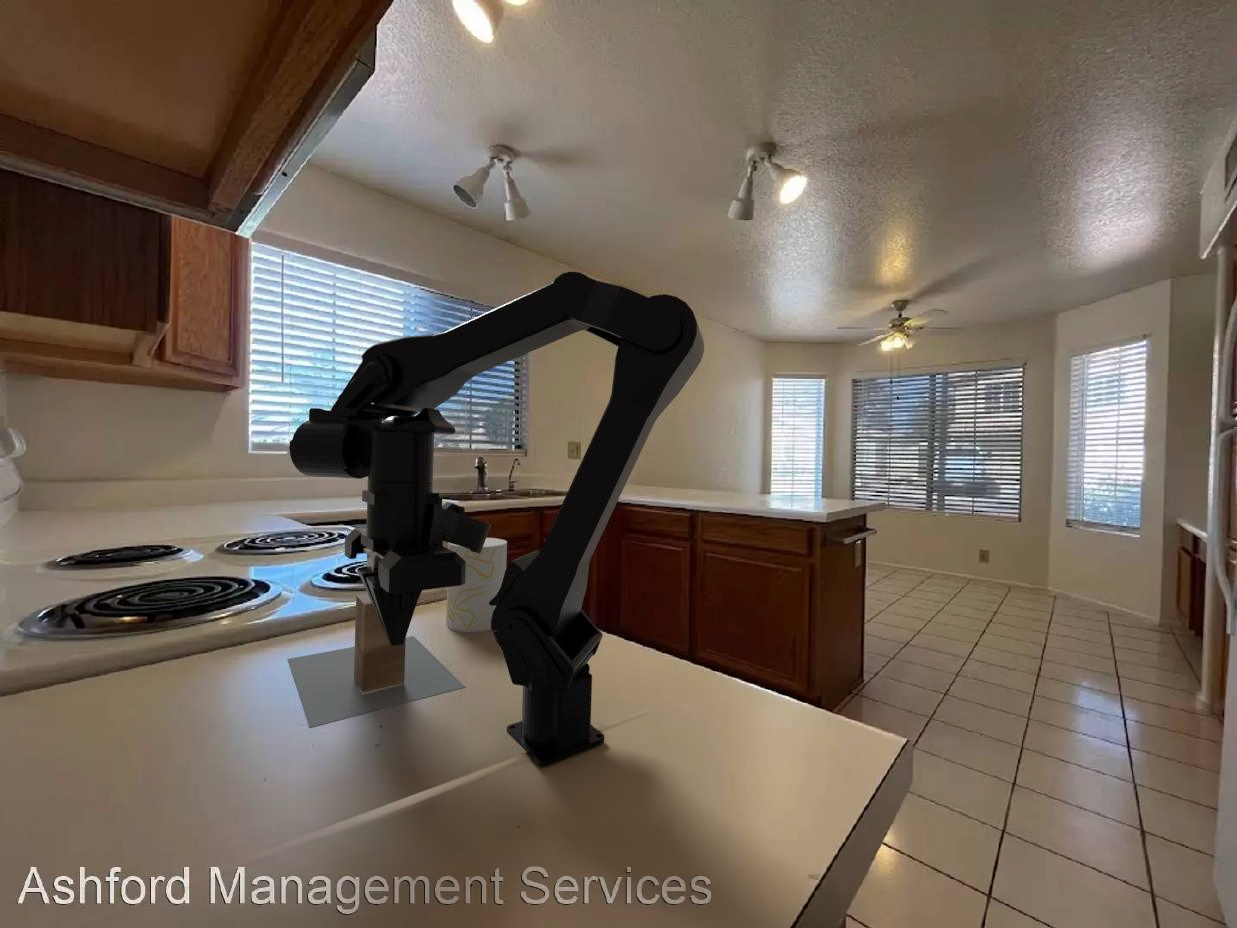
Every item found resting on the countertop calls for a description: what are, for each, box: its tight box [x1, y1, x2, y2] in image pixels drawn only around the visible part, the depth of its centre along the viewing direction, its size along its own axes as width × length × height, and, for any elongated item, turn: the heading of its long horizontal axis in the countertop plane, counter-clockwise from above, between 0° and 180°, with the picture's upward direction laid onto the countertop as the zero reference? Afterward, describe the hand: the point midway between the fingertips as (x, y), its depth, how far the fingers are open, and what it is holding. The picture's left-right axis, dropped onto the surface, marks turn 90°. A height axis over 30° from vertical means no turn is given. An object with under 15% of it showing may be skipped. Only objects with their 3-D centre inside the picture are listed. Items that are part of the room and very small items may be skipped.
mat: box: [287, 635, 466, 729], centre depth 56 cm, size 18×14×1 cm
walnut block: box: [354, 593, 406, 695], centre depth 53 cm, size 4×4×9 cm
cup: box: [445, 537, 508, 633], centre depth 74 cm, size 8×8×12 cm
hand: (396, 644), depth 49 cm, fingers closed
